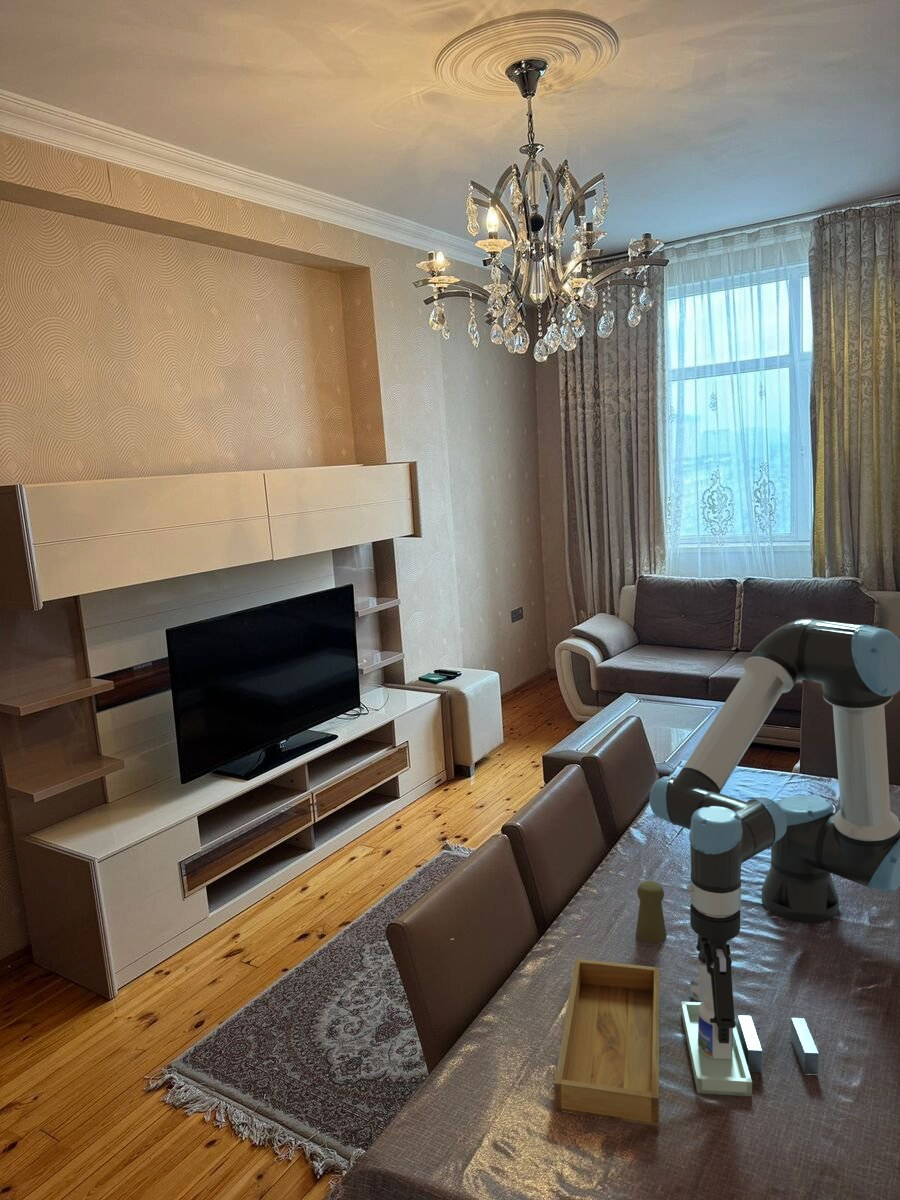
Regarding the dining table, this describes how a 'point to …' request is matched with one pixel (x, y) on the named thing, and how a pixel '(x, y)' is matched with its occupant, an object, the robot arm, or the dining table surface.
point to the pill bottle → (707, 1025)
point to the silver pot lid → (695, 990)
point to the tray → (611, 1043)
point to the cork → (650, 913)
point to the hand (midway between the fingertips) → (714, 1026)
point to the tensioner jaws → (799, 1039)
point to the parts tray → (715, 1061)
